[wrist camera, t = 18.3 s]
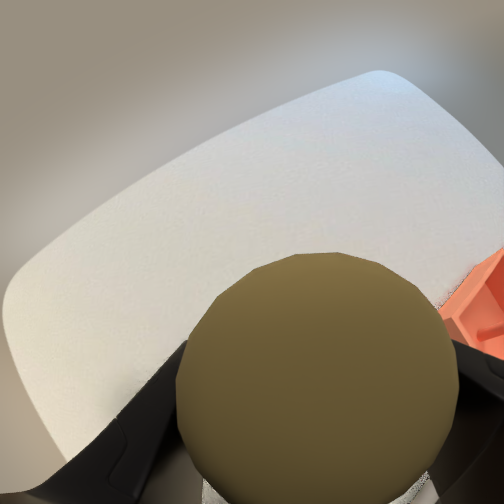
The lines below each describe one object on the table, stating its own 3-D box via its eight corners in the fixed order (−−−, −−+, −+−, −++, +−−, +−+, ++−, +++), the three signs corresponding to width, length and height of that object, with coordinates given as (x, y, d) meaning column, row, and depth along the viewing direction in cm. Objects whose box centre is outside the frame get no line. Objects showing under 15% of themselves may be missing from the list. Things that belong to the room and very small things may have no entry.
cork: (244, 307, 15) (237, 147, 5) (354, 351, 14) (521, 276, 4) (192, 415, 13) (63, 476, 3) (307, 461, 12) (419, 580, 2)
